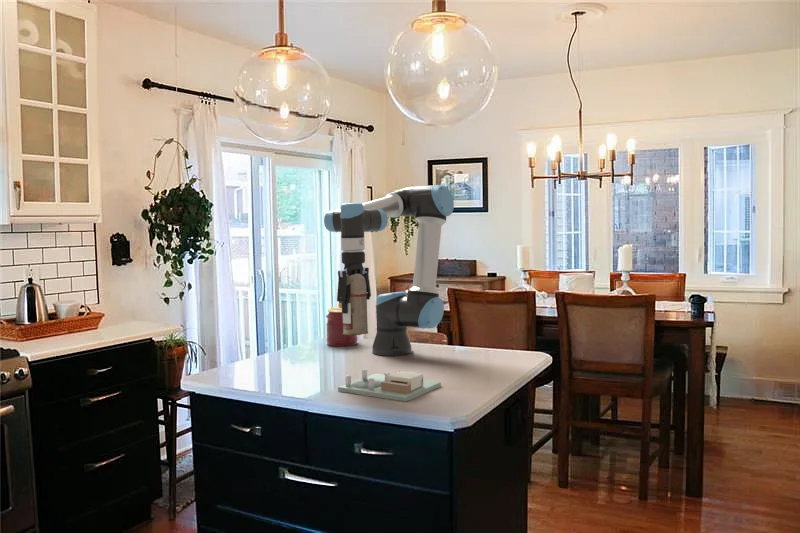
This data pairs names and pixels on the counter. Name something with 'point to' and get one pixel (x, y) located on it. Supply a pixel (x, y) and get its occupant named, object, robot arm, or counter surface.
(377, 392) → the board
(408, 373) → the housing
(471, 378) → the counter surface
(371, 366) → the counter surface
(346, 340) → the canister
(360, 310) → the spray can
